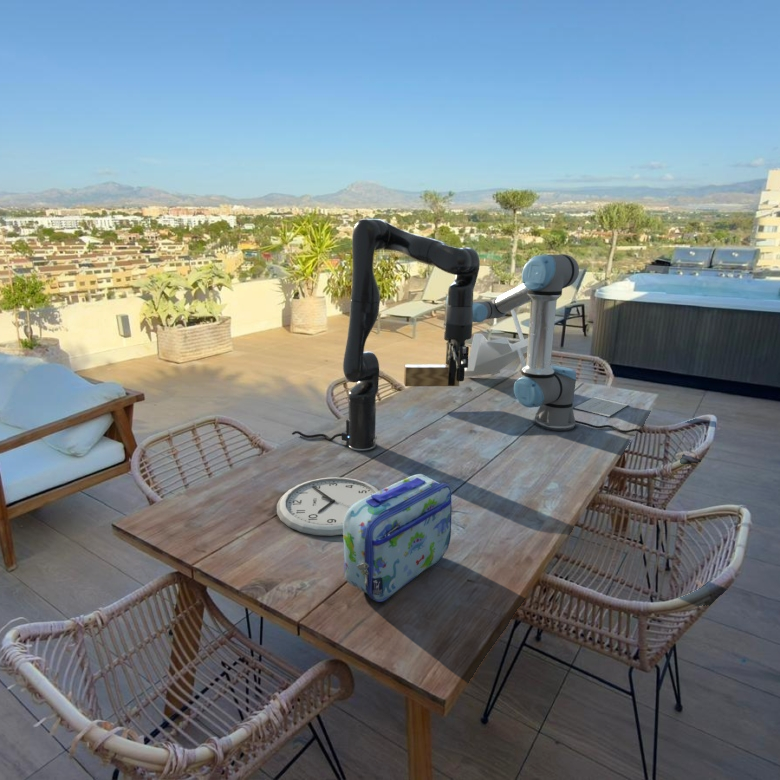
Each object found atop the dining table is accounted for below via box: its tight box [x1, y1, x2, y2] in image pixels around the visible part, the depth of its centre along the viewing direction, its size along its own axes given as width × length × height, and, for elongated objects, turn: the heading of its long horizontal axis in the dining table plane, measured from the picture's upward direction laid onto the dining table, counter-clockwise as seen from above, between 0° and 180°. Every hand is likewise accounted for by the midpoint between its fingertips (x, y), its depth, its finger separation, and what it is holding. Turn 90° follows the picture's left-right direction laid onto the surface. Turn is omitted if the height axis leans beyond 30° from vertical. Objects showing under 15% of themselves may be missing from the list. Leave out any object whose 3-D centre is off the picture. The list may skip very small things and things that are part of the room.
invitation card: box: [573, 396, 629, 418], centre depth 226 cm, size 21×1×15 cm
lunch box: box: [342, 473, 453, 603], centre depth 112 cm, size 26×11×21 cm, turn 134°
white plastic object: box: [461, 309, 528, 378], centre depth 259 cm, size 37×45×31 cm
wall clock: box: [276, 476, 381, 537], centre depth 142 cm, size 30×2×30 cm
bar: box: [403, 364, 460, 387], centre depth 228 cm, size 24×5×9 cm, turn 95°
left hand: (455, 376), depth 152 cm, fingers open, 8 cm apart
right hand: (450, 383), depth 230 cm, fingers closed on bar, 5 cm apart
